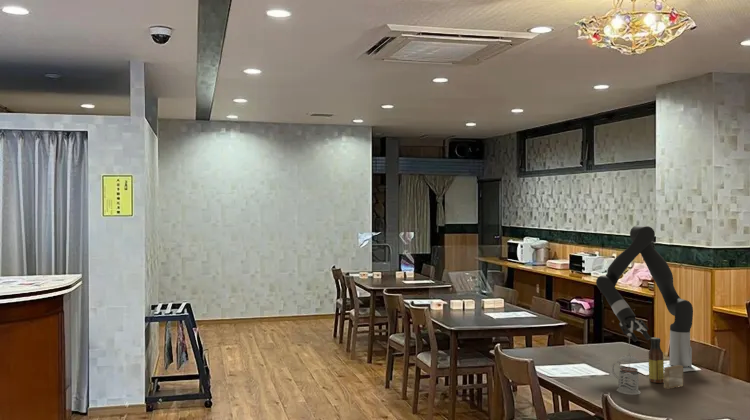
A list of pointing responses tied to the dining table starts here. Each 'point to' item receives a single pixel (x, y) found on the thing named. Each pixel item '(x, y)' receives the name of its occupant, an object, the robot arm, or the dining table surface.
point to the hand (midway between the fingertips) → (642, 340)
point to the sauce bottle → (656, 362)
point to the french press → (628, 375)
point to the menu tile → (673, 376)
